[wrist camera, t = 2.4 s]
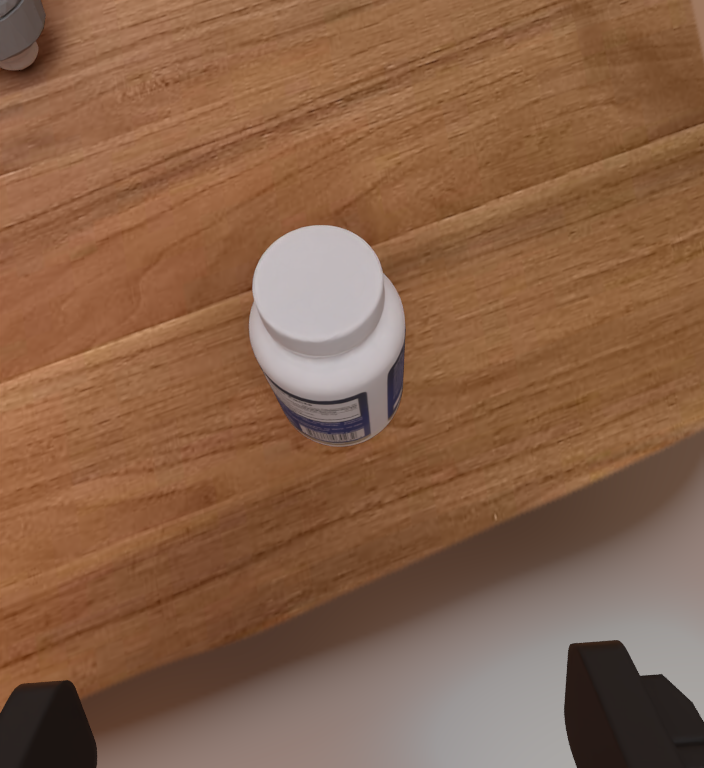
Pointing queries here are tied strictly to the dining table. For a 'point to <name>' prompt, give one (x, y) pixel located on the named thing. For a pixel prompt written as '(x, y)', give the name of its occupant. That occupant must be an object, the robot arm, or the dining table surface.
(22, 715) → the robot arm
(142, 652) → the dining table surface
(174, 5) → the dining table surface
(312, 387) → the pill bottle
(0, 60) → the light bulb
